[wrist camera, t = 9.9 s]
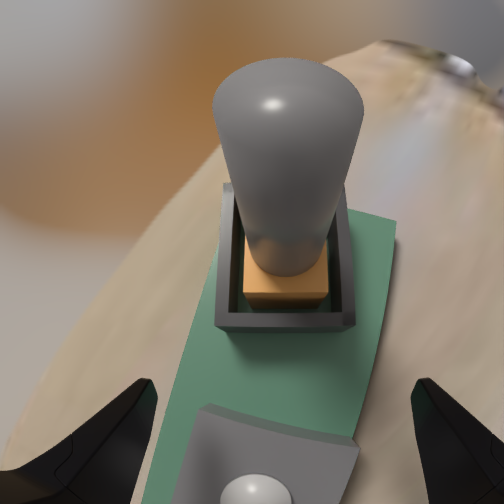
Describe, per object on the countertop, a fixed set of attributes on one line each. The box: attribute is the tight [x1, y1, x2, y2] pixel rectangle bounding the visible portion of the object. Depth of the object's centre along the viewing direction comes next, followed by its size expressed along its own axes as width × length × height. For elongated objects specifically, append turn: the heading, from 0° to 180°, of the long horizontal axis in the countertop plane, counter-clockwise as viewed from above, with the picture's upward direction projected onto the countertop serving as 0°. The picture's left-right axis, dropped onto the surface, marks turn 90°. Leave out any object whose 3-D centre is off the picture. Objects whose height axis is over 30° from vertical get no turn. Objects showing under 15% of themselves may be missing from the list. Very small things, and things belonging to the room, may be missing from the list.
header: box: [214, 183, 356, 333], centre depth 16 cm, size 7×6×3 cm
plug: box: [212, 58, 364, 309], centre depth 12 cm, size 4×4×12 cm
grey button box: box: [170, 403, 360, 504], centre depth 12 cm, size 8×8×3 cm
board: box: [141, 209, 396, 504], centre depth 16 cm, size 21×10×2 cm, turn 164°
